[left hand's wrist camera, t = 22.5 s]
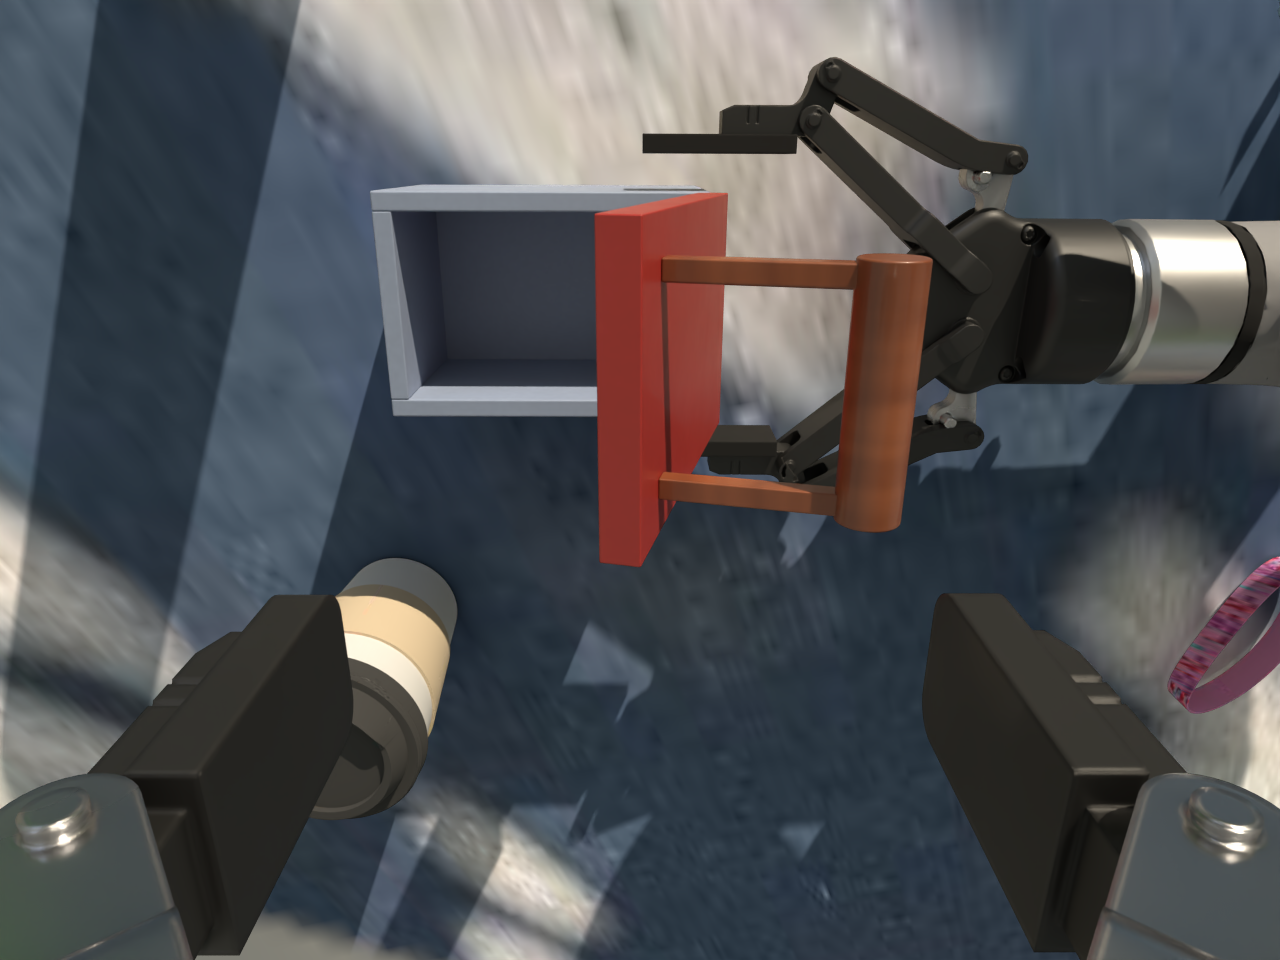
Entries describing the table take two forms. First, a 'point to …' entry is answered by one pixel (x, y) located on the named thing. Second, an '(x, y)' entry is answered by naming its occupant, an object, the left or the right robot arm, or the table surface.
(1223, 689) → the headband
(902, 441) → the lid
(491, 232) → the chest
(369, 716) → the coffee cup
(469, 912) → the table surface
